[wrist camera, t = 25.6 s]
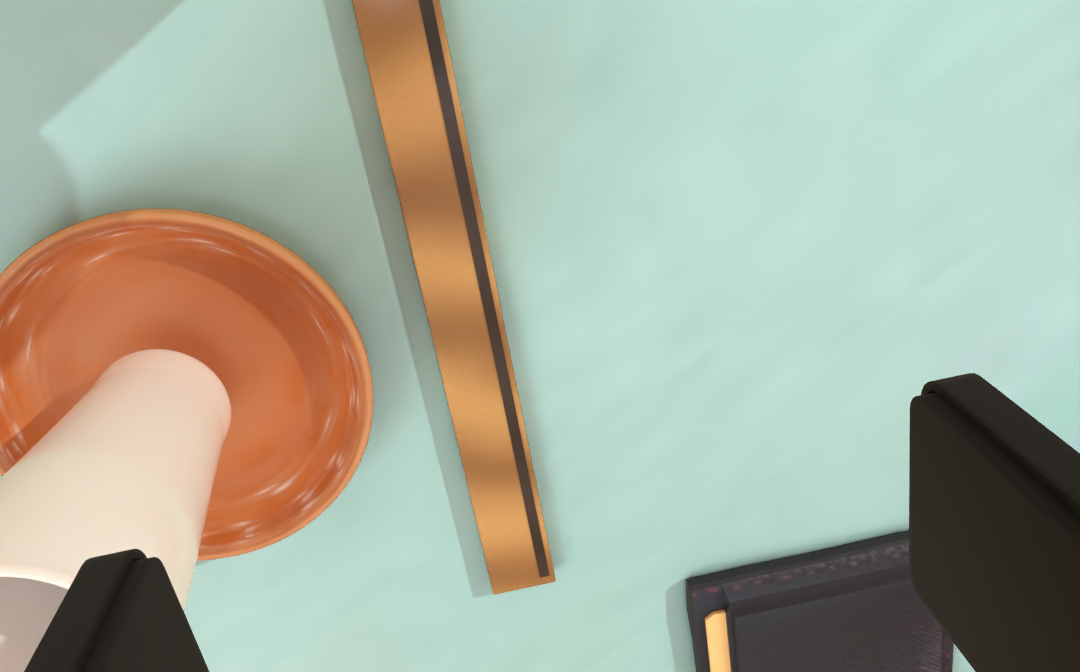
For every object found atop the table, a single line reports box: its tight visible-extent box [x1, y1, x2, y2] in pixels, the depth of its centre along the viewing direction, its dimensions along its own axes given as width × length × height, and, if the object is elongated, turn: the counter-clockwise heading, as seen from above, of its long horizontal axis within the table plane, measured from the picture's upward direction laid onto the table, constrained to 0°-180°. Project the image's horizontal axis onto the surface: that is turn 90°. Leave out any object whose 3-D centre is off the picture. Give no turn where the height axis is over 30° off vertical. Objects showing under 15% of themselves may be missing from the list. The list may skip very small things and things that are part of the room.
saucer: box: [0, 209, 373, 560], centre depth 38 cm, size 16×16×3 cm
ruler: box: [352, 0, 556, 594], centre depth 40 cm, size 30×3×1 cm, turn 10°
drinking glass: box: [0, 349, 231, 672], centre depth 30 cm, size 7×7×15 cm
